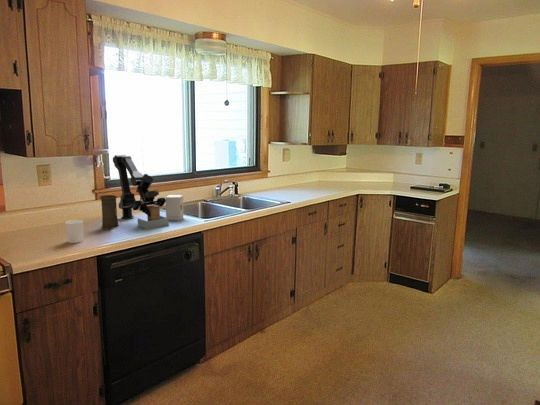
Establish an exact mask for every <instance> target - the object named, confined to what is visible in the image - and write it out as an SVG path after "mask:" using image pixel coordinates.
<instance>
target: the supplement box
mask: <svg viewBox="0 0 540 405" xmlns="http://www.w3.org/2000/svg"><path fill="white" fill-rule="evenodd" d="M165 200H166V202H165V217H166V218H168V221H182V220H183V219H184V195H183V194H168V195H167V196H165Z"/></svg>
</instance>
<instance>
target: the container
mask: <svg viewBox="0 0 540 405" xmlns="http://www.w3.org/2000/svg"><path fill="white" fill-rule="evenodd" d="M99 199H100V202H101V215H102V218H101V219H102V220H101V221H102V223H101V225H102V226H101V229H102V230H113V229H114V228H115V229H116V228H118V227H119V226H120V225H119V222H118V211H117V207H118V206H117V195H115V194H112V195H111V194H108V195H101V196H100V198H99Z"/></svg>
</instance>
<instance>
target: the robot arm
mask: <svg viewBox="0 0 540 405" xmlns="http://www.w3.org/2000/svg"><path fill="white" fill-rule="evenodd" d="M112 162H113V166H114V167H115V168H116V169H117V170H118V176H119V181H120V187H121V194H120V201H119V203H118V206H117V207H118V209H119V210H120V209H121V212H122V216H120V217H121V218H120V219H133V218H134V215H133V211H139V212H142V213H144V214H146V216H147V215H148V216H149V217H151V214H150V212H149V210H148V208H147V206H151V205H157V206H160V208H161V207H164V205H165V204H166V197H158V196H159V195H160V192H159V190H158V189H153V190H149V189H150V188H151V186H152V184H153V182H154V178H153V177H152V176H150V175H149V174H148V173H141V172H140V171H138V169H137V167H136V165H135V163H134V161H133V160H132V156H131V155H126V154H120V155H119V154H115V155H114V156H113V157H112ZM128 173H129V175H130V181H129V177H128ZM129 182H130V183H131V184H132V186H133V187H136V193H138V195H139V197H140V198H139V200H136V197H135V193H133V192H131V187H130V183H129ZM156 197H158V198H157V199H156ZM155 199H156V200H155Z"/></svg>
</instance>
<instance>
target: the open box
mask: <svg viewBox="0 0 540 405" xmlns="http://www.w3.org/2000/svg"><path fill="white" fill-rule="evenodd" d="M169 224H170V222H169V220H168V218H166V216H162V215H160V219H158V220H152V221H148V220H145V219H141V218H139V217H138V218H137V227H140V228H142V229H145V230H151V229H157V228H163V227H168V226H169Z"/></svg>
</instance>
